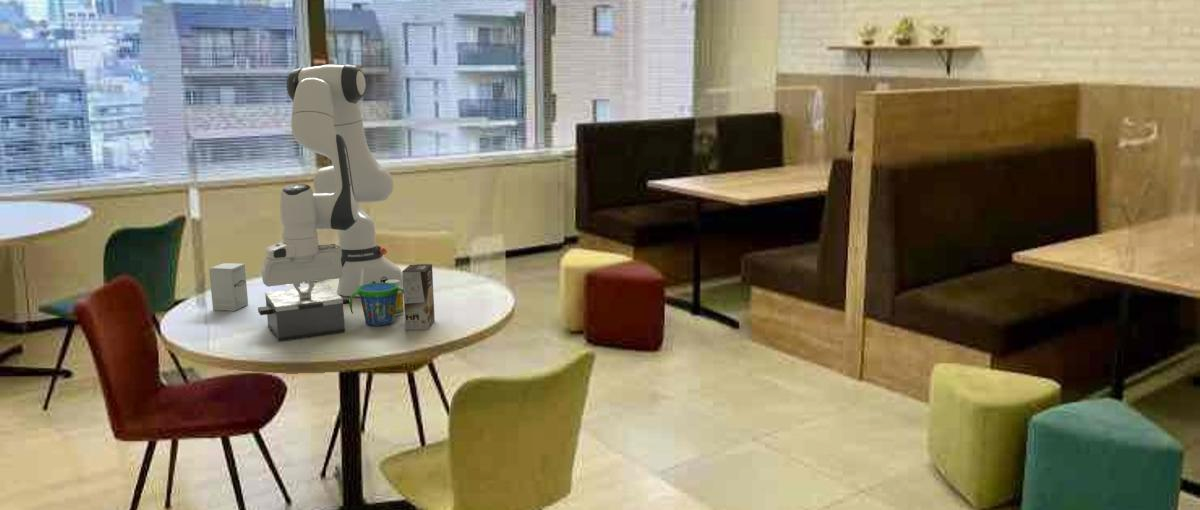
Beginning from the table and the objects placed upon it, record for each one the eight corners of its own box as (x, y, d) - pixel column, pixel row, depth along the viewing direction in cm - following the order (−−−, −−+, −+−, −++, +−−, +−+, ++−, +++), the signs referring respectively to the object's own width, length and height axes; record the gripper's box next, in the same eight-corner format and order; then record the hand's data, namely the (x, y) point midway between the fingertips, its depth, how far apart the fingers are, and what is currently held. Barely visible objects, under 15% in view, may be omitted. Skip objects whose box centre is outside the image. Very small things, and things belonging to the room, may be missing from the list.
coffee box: (428, 330, 260) (425, 271, 257) (404, 330, 261) (401, 271, 257) (435, 320, 269) (432, 263, 266) (412, 320, 270) (409, 263, 266)
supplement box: (235, 311, 282) (231, 268, 279) (212, 310, 283) (207, 268, 281) (249, 305, 289) (245, 263, 286) (226, 304, 290) (222, 262, 288)
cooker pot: (341, 315, 276) (339, 288, 274) (356, 330, 261) (354, 301, 259) (256, 327, 265) (254, 298, 264) (266, 343, 251) (263, 313, 249)
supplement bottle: (382, 312, 278) (380, 280, 276) (401, 310, 280) (399, 277, 278) (387, 317, 273) (385, 284, 271) (406, 314, 276) (404, 281, 274)
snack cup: (408, 315, 275) (406, 280, 273) (409, 325, 265) (407, 289, 263) (350, 319, 271) (348, 284, 269) (350, 330, 261) (347, 293, 259)
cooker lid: (329, 289, 273) (328, 284, 272) (344, 304, 256) (344, 300, 256) (265, 296, 265) (265, 292, 265) (277, 313, 248) (277, 309, 248)
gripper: (338, 241, 263) (342, 290, 266) (258, 249, 254) (263, 300, 257) (343, 245, 257) (347, 296, 260) (262, 253, 248) (267, 306, 251)
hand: (305, 298), depth 258 cm, fingers closed, pressing on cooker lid
